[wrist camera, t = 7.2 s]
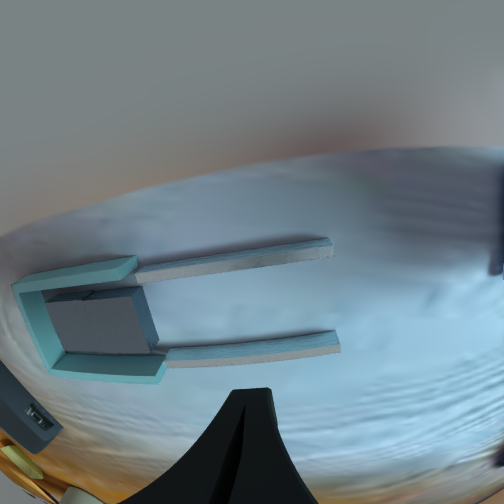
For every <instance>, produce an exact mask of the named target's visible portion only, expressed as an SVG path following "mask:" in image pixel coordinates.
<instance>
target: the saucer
mask: <svg viewBox="0 0 504 504" xmlns="http://www.w3.org/2000/svg"><path fill="white" fill-rule="evenodd" d="M0 449H1V450H2V451H3V452H4V453H5V454H6V455H7V456H8V457H9V458H10V459H11V460H12V461H13V462H14V463H15V464H16V465H17V466H18V467H19V468H20V469H21V470H22V471H23V472H24V473H25V474H27V475H28V476H29V477H30V478H32V479H44V478H43V473H42V470H41V469H40V468H39V467H38V466H37V465H36V464H35V463H34V462H32V461H31V460H30V459H29V458H28V457H27V456H26V455H25V454H24V453H23V452H22V451H21V450H20V449H19V448H18V447H17V446H16V445H8V446H5V447H1V448H0Z"/></svg>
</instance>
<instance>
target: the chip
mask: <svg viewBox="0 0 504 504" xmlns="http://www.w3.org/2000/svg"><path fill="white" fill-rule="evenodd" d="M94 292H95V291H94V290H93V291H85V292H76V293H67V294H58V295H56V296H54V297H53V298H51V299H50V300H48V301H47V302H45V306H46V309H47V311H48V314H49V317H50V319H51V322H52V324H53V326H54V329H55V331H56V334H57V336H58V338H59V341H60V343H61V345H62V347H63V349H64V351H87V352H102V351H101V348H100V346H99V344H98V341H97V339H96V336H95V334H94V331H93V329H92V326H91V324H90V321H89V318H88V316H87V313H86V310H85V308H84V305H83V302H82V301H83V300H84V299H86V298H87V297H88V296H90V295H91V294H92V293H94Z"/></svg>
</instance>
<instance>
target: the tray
mask: <svg viewBox="0 0 504 504" xmlns="http://www.w3.org/2000/svg"><path fill="white" fill-rule="evenodd" d="M137 267H139V265H138V261H137V257H136V256H131V257H125V258H119V259H113V260H107V261H101V262H96V263H90V264H84V265H79V266H73V267H67V268H62V269H56V270H51V271H45V272H40V273H34V274H30V275H28V276H26V277H24V278H23V279H21V280H19V281H17V282H15V283H13V284H11V286H12V289H13V292H14V295H15V298H16V301H17V304H18V306H19V309H20V312H21V314H22V317H23V319H24V322H25V324H26V327H27V329H28V331H29V334H30V336H31V338H32V341H33V343H34V345H35V347H36V349H37V351H38V353H39V356H40V358H41V360H42V362H43V364H44V366H45V368H46V370H47V371H48V373H49V375H51V376H57V377H65V378H72V379H81V380H90V381H101V382H113V383H129V384H155V385H159V383H160V381H161V379H162V377H163V375H164V373H165V371H166V369H167V368H166V366H165V364H164V359H165V357H166V355H150V356H116V355H83V354H67V353H66V351H64V349H63V347H62V345H61V343H60V341H59V338H58V336H57V334H56V331H55V329H54V326H53V324H52V322H51V319H50V317H49V314H48V311H47V309H46V306H45V300H44V297H43V294H42V291H41V290H47V289H55V288H63V287H71V286H79V285H87V284H94V283H102V282H110V281H117V280H121V279H123V278H124V277H125V276H127V275H128V274H129V273H131V272H132V271H133V270H135V269H136V268H137Z"/></svg>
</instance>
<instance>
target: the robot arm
mask: <svg viewBox="0 0 504 504" xmlns="http://www.w3.org/2000/svg"><path fill="white" fill-rule="evenodd" d="M502 278H503V280H504V265H503V275H502ZM118 504H318V502H317V501H316V499H315V498H314V497H313V495H312V494H311V492H310V491H309V489H308V488H307V487H306V485H305V483H304V482H303V480H302V478H301V477H300V475H299V473H298V472H297V470H296V468H295V466H294V464H293V463H292V461H291V459H290V457H289V454H288V452H287V450H286V448H285V446H284V443H283V441H282V438H281V436H280V433H279V430H278V424H277V418H276V412H275V407H274V402H273V396H272V391H271V389H269V388H268V387H266V388H253V389H236V390H232V391H231V392H230V394H229V396H228V397H227V399H226V401H225V402H224V404H223V405H222V407H221V409H220V410H219V412H218V413H217V415H216V416H215V417H214V419H213V420H212V422H211V423H210V424H209V426H208V427H207V428H206V430H205V431H204V432H203V434H202V435H201V436H200V437H199V438H198V440H197V441H196V442H195V443H194V444H193V446H192V447H191V448H190V449H189V450H188V451H187V452H186V453H185V454H184V455H183V456H182V457H181V458H180V459H179V460H178V461H177V462H176V463H175V464H174V465H173V466H172V467H171V468H170V469H169V470H167V471H166V472H165V473H164V474H162V475H161V476H160V477H159V478H157V479H156V480H155V481H154V482H152V483H151V484H149V485H148V486H147V487H145V488H144V489H142V490H140V491H139V492H137V493H135V494H134V495H132V496H131V497H129V498H127V499H125V500H124V501H122V502H120V503H118Z"/></svg>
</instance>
